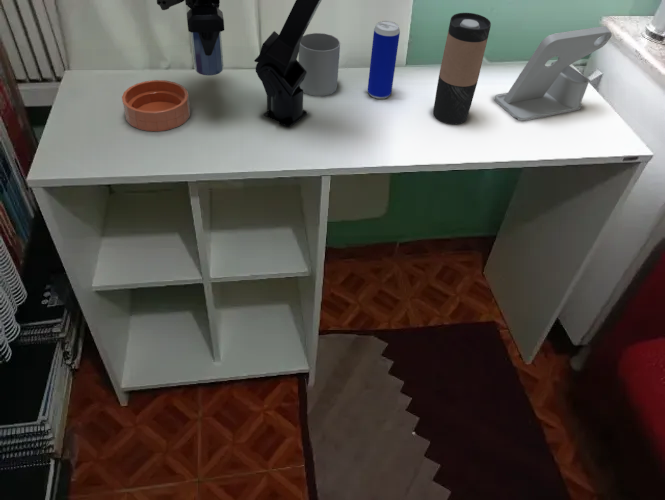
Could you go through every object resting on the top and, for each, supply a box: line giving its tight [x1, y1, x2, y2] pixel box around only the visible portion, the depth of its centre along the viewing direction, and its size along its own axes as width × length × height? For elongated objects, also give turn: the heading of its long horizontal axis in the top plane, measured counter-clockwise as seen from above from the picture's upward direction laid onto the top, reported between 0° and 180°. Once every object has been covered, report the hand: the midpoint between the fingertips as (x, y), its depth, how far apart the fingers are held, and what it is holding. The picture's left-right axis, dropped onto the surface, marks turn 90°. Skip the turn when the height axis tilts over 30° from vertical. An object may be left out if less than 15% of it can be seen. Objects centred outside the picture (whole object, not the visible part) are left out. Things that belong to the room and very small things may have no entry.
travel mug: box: [432, 12, 492, 125], centre depth 120 cm, size 8×8×20 cm
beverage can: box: [367, 20, 401, 100], centre depth 127 cm, size 5×5×15 cm
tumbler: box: [190, 32, 224, 76], centre depth 117 cm, size 5×5×10 cm
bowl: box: [121, 79, 191, 132], centre depth 119 cm, size 12×12×4 cm
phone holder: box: [494, 25, 613, 122], centre depth 127 cm, size 17×10×18 cm, turn 113°
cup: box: [298, 32, 341, 97], centre depth 129 cm, size 8×8×10 cm
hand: (207, 48), depth 118 cm, fingers closed on tumbler, 5 cm apart
